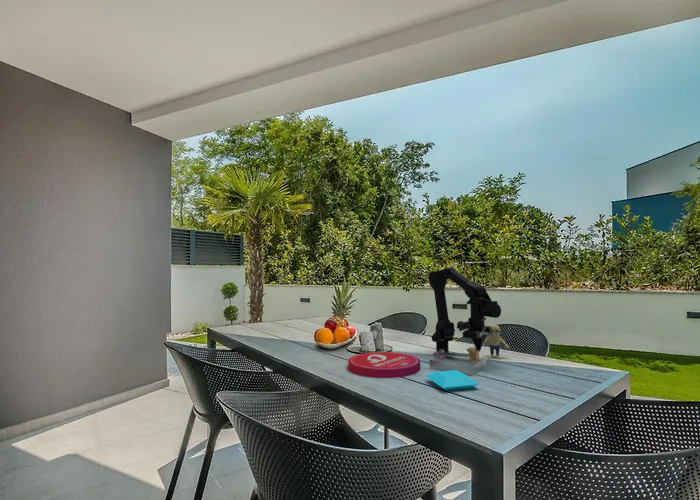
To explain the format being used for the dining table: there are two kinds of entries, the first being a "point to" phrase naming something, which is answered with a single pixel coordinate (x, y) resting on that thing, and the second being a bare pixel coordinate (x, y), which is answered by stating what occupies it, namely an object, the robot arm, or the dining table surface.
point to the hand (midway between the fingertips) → (478, 351)
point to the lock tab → (473, 353)
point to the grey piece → (458, 363)
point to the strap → (454, 354)
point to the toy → (495, 340)
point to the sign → (384, 364)
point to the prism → (452, 380)
